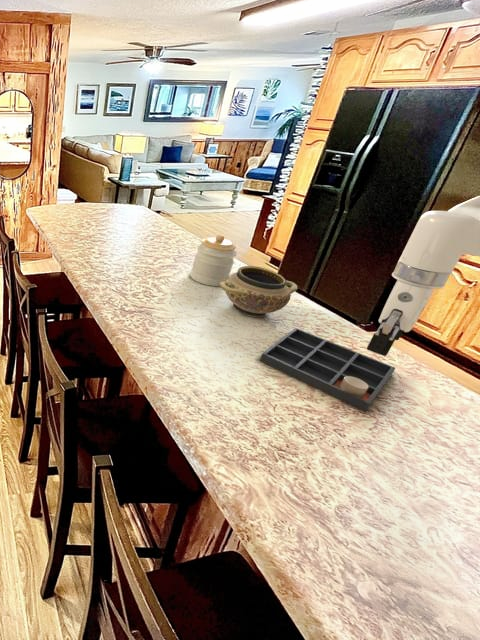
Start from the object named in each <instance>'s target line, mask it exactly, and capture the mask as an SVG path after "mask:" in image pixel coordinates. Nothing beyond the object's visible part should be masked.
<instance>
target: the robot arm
mask: <svg viewBox="0 0 480 640" xmlns="http://www.w3.org/2000/svg"><path fill="white" fill-rule="evenodd" d="M463 255H469V256H473V257H480V195H478V196H476V197H473V198H471V199H469V200H466V201H464V202H462V203H459V204H457V205H454V206H453V207H452V208H450V209H448V210H430V211H429V210H428V211H426V212H424V213H423V214H421V216H420V218H419V219H418V221H417V222H416V225H415V227H414V229H413V231H412V233H411V235H410V236H409V239H408V240H407V243H406V245H405V247H404V249H403V251H402V254H401V255H400V257H399V259H398V261H397V263H396V265H395V267H394V269H393V270H392V273H391V276H392V277H393V278H394V279H395V280H396V282H395V284H394V285H393V288H392V289H391V292H390V293H389V296H388V298H387V300H386V302H385V304H384V305H383V306H384V307H383V309H382V310H381V313H380V316H379V318H378V323H379V324H380V325H379V327H378V328H377V329H376V332H374V333H373V335H372V337H371V339H370V341H369V343H368V344H367V347H366V349H367V351H370V352H373V353H375V354H378V355H380V356H383V357H386V356H387V355H388V354H389V352H390V350H391V348H392V347H393V345H394V343H395V341H399V340H400V339H401V337H402V334H403V333H409V332H410V331H411V330H412V329H413V328H414V326H415V325H416V324H417V322H418V321H419V319H420V317H421V315H422V313H423V311H424V310H425V308H426V306H427V304H428V303H429V300H430V298H431V297H432V295H433V292H434V291H435V290H437V289H444V287H445V285H446V283H447V281H448V280H449V278H450V276H451V275H452V273H453V271H454V269H455V267H456V266H457V264H458V262H459V260H460V258H461V257H462V256H463Z"/></svg>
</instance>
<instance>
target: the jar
mask: <svg viewBox="0 0 480 640" xmlns="http://www.w3.org/2000/svg"><path fill="white" fill-rule="evenodd" d="M200 243H201V244H199V245H197V247H196V249H197V252H196V253H195V255H194V259H193V262H192V266H191V269H190V277H191V279H193V280H194V281H196V282H197V283H200V284H203V285H206V286H213V287H220V283H221V282H222V281H226V279H227V278H228V277H229V276H230V275H231V271H232V269H233V265H234V263H235V261H234V258H235V257H236V256H237V252H236V248H237V246H236V245H235V244H234V243H233V242H232V241H231V240H229V239H226V238H225V236H224V235H223V234H218V235H216V237H215V236H210V237H209V236H208V237H207V238H204V239H202V240H201V242H200Z"/></svg>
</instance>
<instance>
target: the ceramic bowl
mask: <svg viewBox="0 0 480 640" xmlns="http://www.w3.org/2000/svg"><path fill="white" fill-rule="evenodd" d="M288 286H289V287H288ZM219 288H221V289H222V291H224V292H225V295H226V297H227V298H228V299H229V301H230V302H231V303H232V307H233V309H234V311H236V312H238V313H239V314H242V315H245V316H248V317H252V318H264V317H265V316H266V315H267V314H271V313H275V312H277V311H281V310H282V309H283V308H285V307H286V306H287V305H288V303H289V302H290V300H291V298H292V295H291V294H293V293H295V292H296V291H298V285H297V284H296V283H295V282H293V281H289V280H287V279H286V278H285V277H284V276H283V275H282V274H280V273H278V272H276V271H275V270H271V269H268V268H266V267H261V266H254V265H243V266H241V267H239V268H238V269H237V271H236V272H234V273H230V275H229V277H228V278H227V279H226V281H222V282H221V283H220V286H219Z"/></svg>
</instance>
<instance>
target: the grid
mask: <svg viewBox="0 0 480 640" xmlns="http://www.w3.org/2000/svg"><path fill="white" fill-rule="evenodd" d="M259 362H261V363H263V364H265V365H267V366H269V367H271V368H273V369H276V370H278V371H279V372H281V373H284V374H286V375H288V376H290V377H292V378H294V379H296V380H298V381H300V382H302V383H304V384H306V385H309V386H310V387H313V388H314V389H317V390H319V391H321V392H323V393H325V394H327V395H329V396H331V397H334V398H335V399H337V400H339V401H342V402H344V403H346V404H347V405H350V406H352V407H353V408H356V409H358V410H360V411H362V412H364V413H366V412H367V411H368V409H369V408H370V406H371V405H372V404H373V402H374V401H375V399H376V398H377V397H378V395H379V393H380V392H381V391H382V389H383V388H384V386H385V385H386V383H387V382H388V381H389V379H390V378H391V376H392V375H393V373H394V371H395V370H396V367H395V366H393V365H390V364H387V363H385V362H382V361H380V360H377V359H375V358H373V357H370V356H368V355H365V354H362V353H360V352H357V351H355V350H353V349H350V348H348V347H345V346H343V345H340V344H337V343H335V342H332V341H330V340H328V339H325V338H323V337H320V336H318V335H315V334H314V333H313V334H312V333H311V332H307V331H305V330H303V329H300V328H298V327H294V328H293V329H292V330H290V331H289V332H288V333H287V334H286V335H284V336H283V337H282V338H280V339H279V340H278V341H277V342H275V343H274V344H273V345H271V346H270V347H269V348H267V349H266V350H265V351H264V352H263V353H261V355H260V358H259ZM346 376H352V377H356V378H358V379H360V380H362V381H364V382H365V383H367V385H368V389H367V391H366V393H365V395H364V396H363V398H359V397H357V396H355V395H353V394H351V393H349V392H347V391H344V390H342V389H340V388H339V386H340V385H341V383H342V381H343V379H344V377H346Z"/></svg>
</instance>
